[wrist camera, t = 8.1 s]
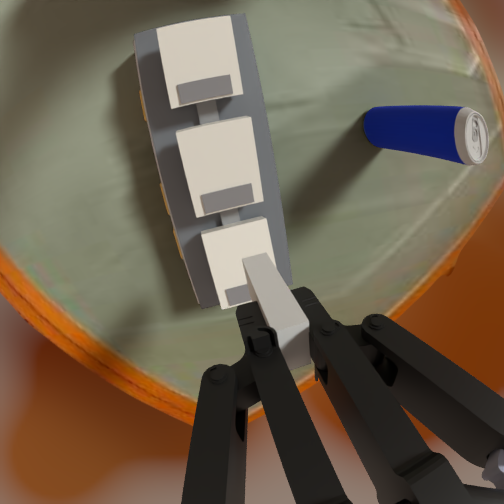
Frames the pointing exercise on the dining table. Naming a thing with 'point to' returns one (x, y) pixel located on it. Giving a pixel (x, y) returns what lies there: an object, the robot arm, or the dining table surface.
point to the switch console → (171, 166)
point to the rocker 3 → (235, 256)
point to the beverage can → (430, 131)
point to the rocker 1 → (199, 60)
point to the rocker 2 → (221, 165)
